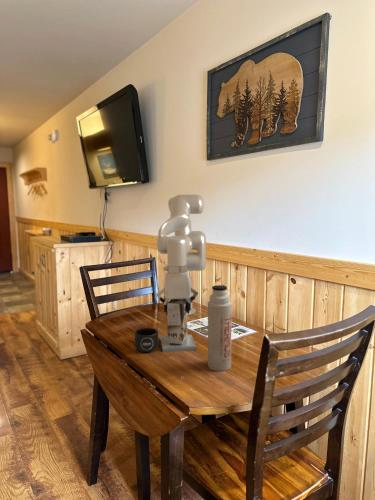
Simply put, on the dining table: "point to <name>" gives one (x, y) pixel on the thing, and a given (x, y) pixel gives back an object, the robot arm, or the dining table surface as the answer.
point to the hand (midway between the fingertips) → (177, 312)
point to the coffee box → (176, 321)
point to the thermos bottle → (219, 329)
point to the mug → (146, 339)
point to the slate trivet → (186, 345)
